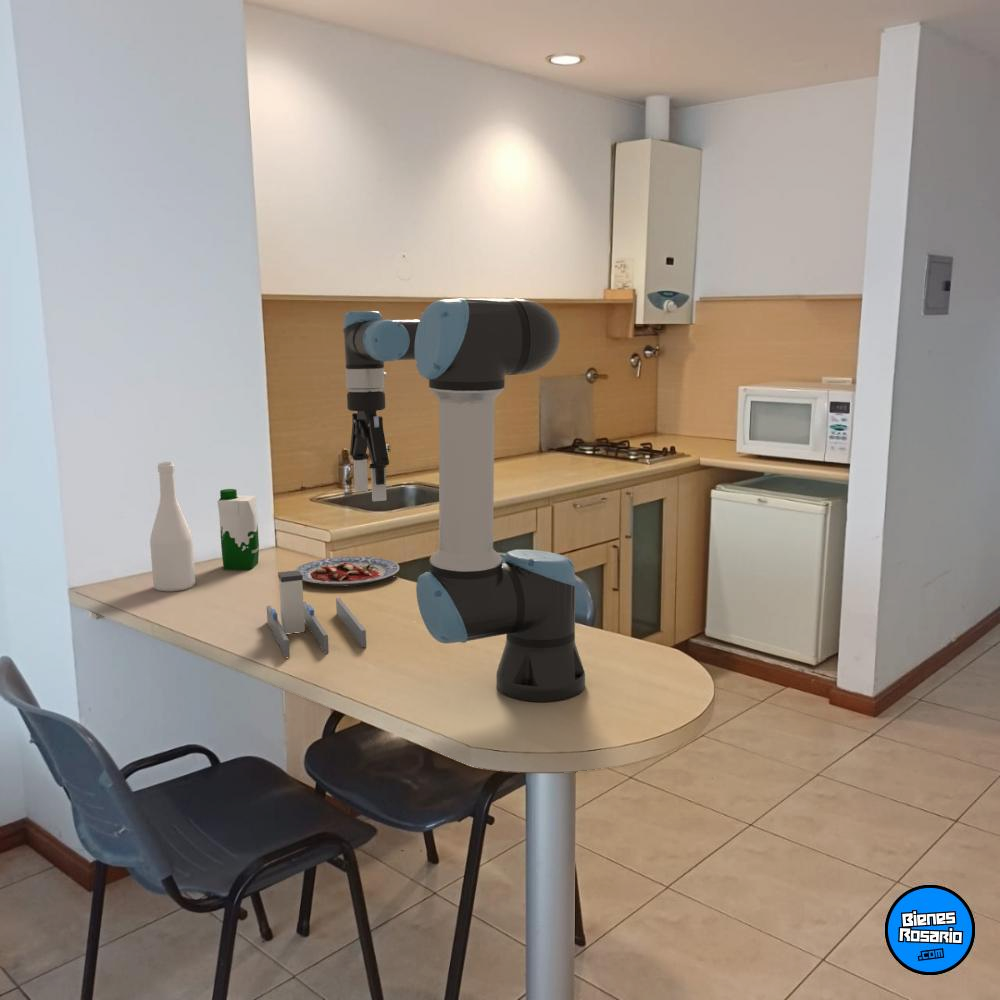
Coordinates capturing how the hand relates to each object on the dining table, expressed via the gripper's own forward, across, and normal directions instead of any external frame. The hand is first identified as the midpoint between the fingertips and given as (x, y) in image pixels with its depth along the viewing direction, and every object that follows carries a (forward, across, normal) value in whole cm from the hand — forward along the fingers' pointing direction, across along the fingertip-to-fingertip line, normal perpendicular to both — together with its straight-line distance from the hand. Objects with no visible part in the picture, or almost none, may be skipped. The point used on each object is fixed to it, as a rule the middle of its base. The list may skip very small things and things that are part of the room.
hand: (370, 495), depth 195 cm
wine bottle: (+26, +49, +36) cm, 66 cm away
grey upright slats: (+27, -1, +13) cm, 30 cm away
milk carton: (+26, +62, +18) cm, 70 cm away
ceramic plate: (+27, +40, -4) cm, 49 cm away
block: (+27, +3, +16) cm, 32 cm away
